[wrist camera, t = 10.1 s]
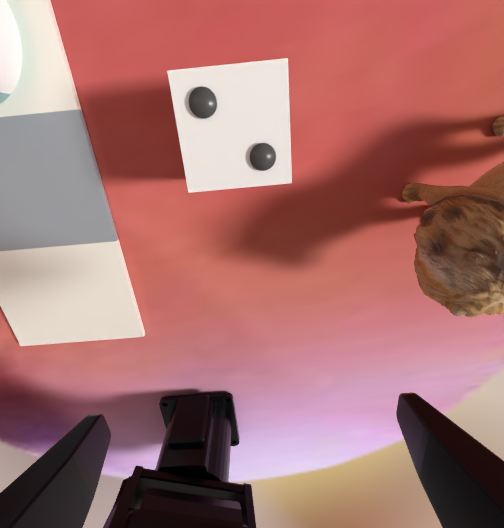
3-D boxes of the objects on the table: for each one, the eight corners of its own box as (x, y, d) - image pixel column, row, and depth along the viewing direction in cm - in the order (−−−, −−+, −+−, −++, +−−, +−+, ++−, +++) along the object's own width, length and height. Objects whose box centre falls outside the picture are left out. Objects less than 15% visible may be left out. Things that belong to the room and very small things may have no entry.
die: (281, 171, 19) (292, 183, 14) (203, 179, 19) (187, 193, 14) (277, 80, 17) (288, 57, 12) (190, 89, 17) (166, 70, 12)
